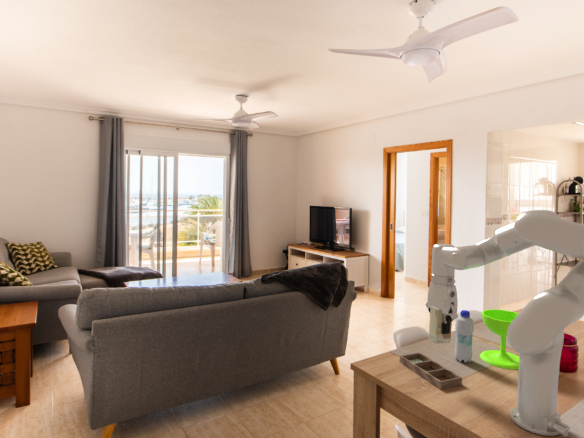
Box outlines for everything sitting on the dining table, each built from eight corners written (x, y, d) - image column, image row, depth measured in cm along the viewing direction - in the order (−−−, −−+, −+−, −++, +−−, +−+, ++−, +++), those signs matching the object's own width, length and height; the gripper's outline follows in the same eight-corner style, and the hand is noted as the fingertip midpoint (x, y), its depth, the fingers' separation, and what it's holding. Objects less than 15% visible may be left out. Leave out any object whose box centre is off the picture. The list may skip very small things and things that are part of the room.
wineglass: (518, 354, 155) (520, 311, 154) (532, 371, 140) (535, 324, 139) (475, 349, 159) (477, 307, 158) (485, 366, 144) (487, 320, 142)
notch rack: (462, 384, 129) (462, 377, 129) (440, 389, 126) (440, 382, 126) (419, 358, 150) (419, 352, 150) (399, 361, 147) (399, 355, 147)
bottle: (468, 357, 152) (470, 308, 151) (475, 364, 145) (477, 313, 144) (451, 356, 152) (453, 307, 151) (457, 363, 146) (459, 312, 145)
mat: (429, 366, 143) (429, 365, 143) (413, 369, 141) (413, 368, 141) (418, 359, 149) (418, 358, 149) (403, 362, 146) (403, 361, 146)
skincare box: (435, 344, 130) (437, 309, 129) (428, 339, 134) (429, 305, 133) (451, 342, 131) (453, 308, 130) (443, 338, 136) (445, 304, 135)
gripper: (470, 284, 124) (467, 338, 126) (433, 273, 140) (431, 321, 142) (452, 286, 122) (449, 341, 123) (417, 275, 138) (415, 324, 139)
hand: (440, 330), depth 132 cm, fingers closed on skincare box, 4 cm apart
